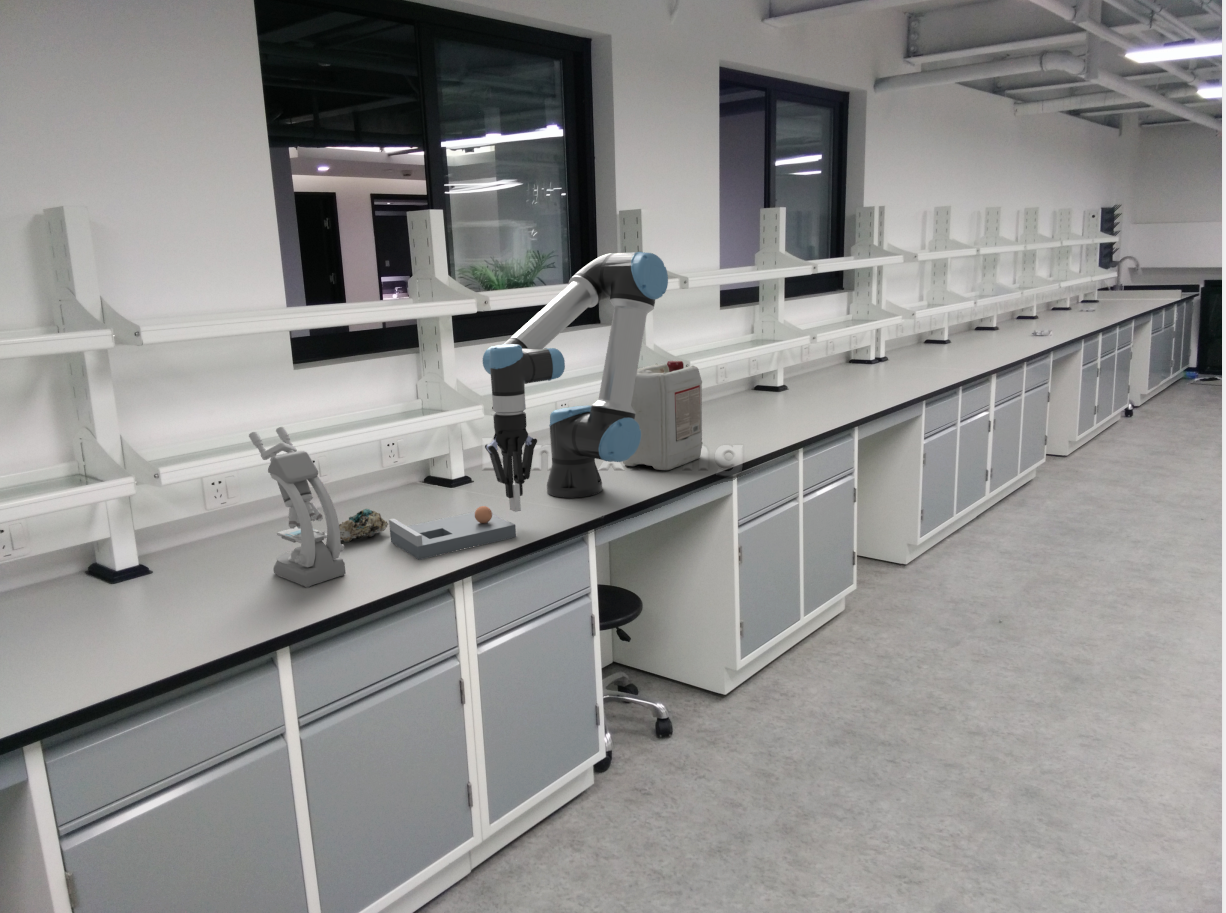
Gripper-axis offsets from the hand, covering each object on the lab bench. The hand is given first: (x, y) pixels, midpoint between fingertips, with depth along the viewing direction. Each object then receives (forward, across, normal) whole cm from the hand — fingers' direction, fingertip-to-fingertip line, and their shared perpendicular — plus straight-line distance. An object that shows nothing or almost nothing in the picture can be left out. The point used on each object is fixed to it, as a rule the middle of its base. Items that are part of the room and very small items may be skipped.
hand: (515, 509), depth 213 cm
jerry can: (+5, -67, -29) cm, 73 cm away
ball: (0, +8, 0) cm, 8 cm away
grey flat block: (+5, +15, -2) cm, 16 cm away
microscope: (+5, +49, -2) cm, 50 cm away
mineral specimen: (+5, +32, -18) cm, 37 cm away
